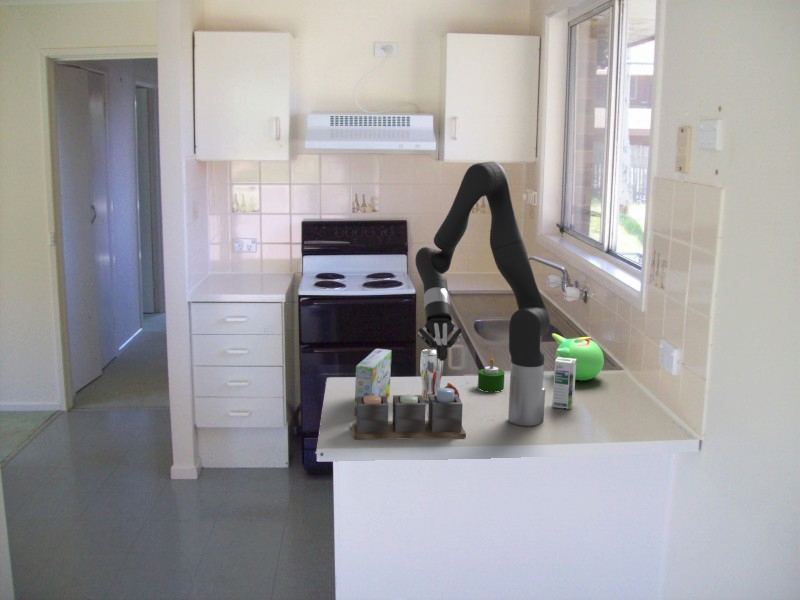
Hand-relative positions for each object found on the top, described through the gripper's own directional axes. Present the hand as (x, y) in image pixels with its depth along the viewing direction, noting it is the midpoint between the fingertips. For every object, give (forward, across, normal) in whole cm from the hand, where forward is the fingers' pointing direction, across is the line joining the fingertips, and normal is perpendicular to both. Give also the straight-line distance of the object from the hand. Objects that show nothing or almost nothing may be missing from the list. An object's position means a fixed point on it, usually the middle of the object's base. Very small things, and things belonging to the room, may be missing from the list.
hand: (442, 359), depth 234 cm
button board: (+18, -10, +8) cm, 22 cm away
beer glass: (-1, 0, +28) cm, 28 cm away
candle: (-8, +21, +34) cm, 41 cm away
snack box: (+2, -18, +24) cm, 30 cm away
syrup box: (+4, +39, +22) cm, 45 cm away
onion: (+5, +4, +21) cm, 22 cm away
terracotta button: (+14, -20, +5) cm, 25 cm away
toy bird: (-15, +52, +41) cm, 68 cm away
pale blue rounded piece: (+13, 0, +3) cm, 13 cm away
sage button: (+14, -10, +5) cm, 18 cm away
